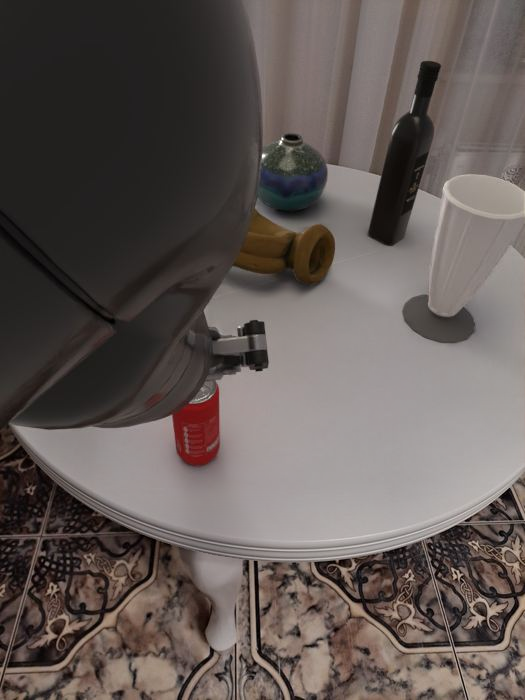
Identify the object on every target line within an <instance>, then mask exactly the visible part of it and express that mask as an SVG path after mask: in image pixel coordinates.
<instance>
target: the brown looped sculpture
mask: <svg viewBox="0 0 525 700" xmlns="http://www.w3.org/2000/svg"><path fill="white" fill-rule="evenodd" d="M335 252H336V239H335V236H334V234H333V233H332V231H331V230H330V229H329V228H328V227H327V226H325V225H323V224H321V223H316V224H313V225H311V226H309V227H307V228H306V229H305V230H304V231H303V233H302V232H299V231H295V230H291V229H287V228H286V227H283V226H281V225H279V224H277V223H275V222H274V221H272V220H271V219H269V218H267V217H266V216H265V215H263V214H261V213H260V212H259V211H258V210H257V209H256V207H255V208H254V212H253V216H252V219H251V223H250V226H249V230H248V233H247V236H246V238H245V241H244V243H243V246H242V248H241V250H240V252H239V254H238V256H237V258H236V260H235V261H234V263H233V265H232V267H236V268H238V269H241V270H245V271H247V272H251V273H254V274H255V273H256V274H261V275H277V274H280V273H282V272H283V271H285V270H287V269H292V270H293V274H294V277H295V279H296V280H297V281H298V282H300V283H302V284H305V285H314V284H316V283H319V282H321V281H322V280H323V279H324V278H325V276H327V273H328V272H329V270H330V269H331V267H332V264H333V261H334V258H335V255H336V254H335Z"/></svg>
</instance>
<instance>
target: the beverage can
mask: <svg viewBox="0 0 525 700" xmlns="http://www.w3.org/2000/svg"><path fill="white" fill-rule="evenodd" d="M171 417H172V427H173V435H174V442H175V450H176V453H177V455H178V456H179V457H180V458H181V459H182V461H184V462H185V463H186V464H187V465H190V466H194V467H202V466H204V465H207V464H209V463H210V462H212V461H213V460H214V458H215V457H216V456H217V454H218V452H219V450H220V447H221V443H220V441H221V438H220V437H221V435H220V433H221V432H220V429H221V427H220V387H219V384H218V382H217V380H214V381H207V382H205V383H204V384H203V386H202V388H201V389H200V391H199V392H198V394H197V395H196V396H195V397H194V398H193V399H192V400H191V401H190V402H189V403H188V404H187V405H186V406H185V407H183V408H182V409H181V410H179V411H178V412H176V413H174V414H172V415H171Z"/></svg>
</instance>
